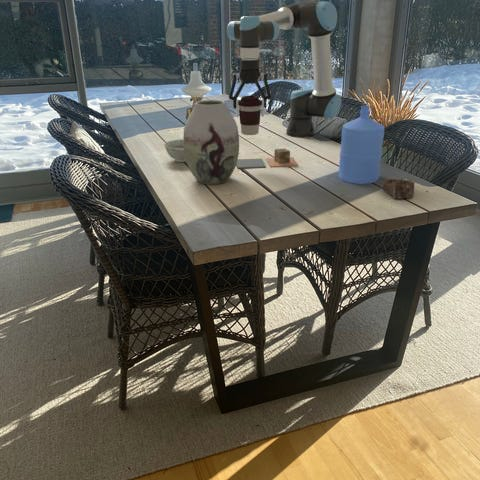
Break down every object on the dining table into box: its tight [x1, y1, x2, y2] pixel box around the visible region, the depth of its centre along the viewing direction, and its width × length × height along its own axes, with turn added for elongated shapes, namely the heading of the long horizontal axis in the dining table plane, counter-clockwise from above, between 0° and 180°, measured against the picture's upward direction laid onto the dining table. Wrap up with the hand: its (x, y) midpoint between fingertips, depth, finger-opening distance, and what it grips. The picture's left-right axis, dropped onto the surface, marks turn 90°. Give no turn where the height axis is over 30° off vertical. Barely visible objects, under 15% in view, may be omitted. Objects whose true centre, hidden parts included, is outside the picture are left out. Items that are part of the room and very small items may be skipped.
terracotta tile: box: [266, 156, 299, 168], centre depth 212 cm, size 12×12×1 cm
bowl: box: [163, 138, 187, 163], centre depth 217 cm, size 16×16×8 cm
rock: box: [382, 178, 415, 200], centre depth 173 cm, size 13×8×6 cm, turn 3°
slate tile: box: [236, 158, 267, 170], centre depth 211 cm, size 12×12×1 cm
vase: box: [182, 99, 240, 186], centre depth 186 cm, size 21×21×30 cm
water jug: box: [337, 105, 385, 185], centre depth 186 cm, size 16×16×28 cm
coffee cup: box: [237, 95, 262, 136], centre depth 202 cm, size 10×10×15 cm
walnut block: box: [273, 148, 291, 164], centre depth 211 cm, size 5×5×5 cm
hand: (249, 116), depth 203 cm, fingers closed on coffee cup, 10 cm apart
